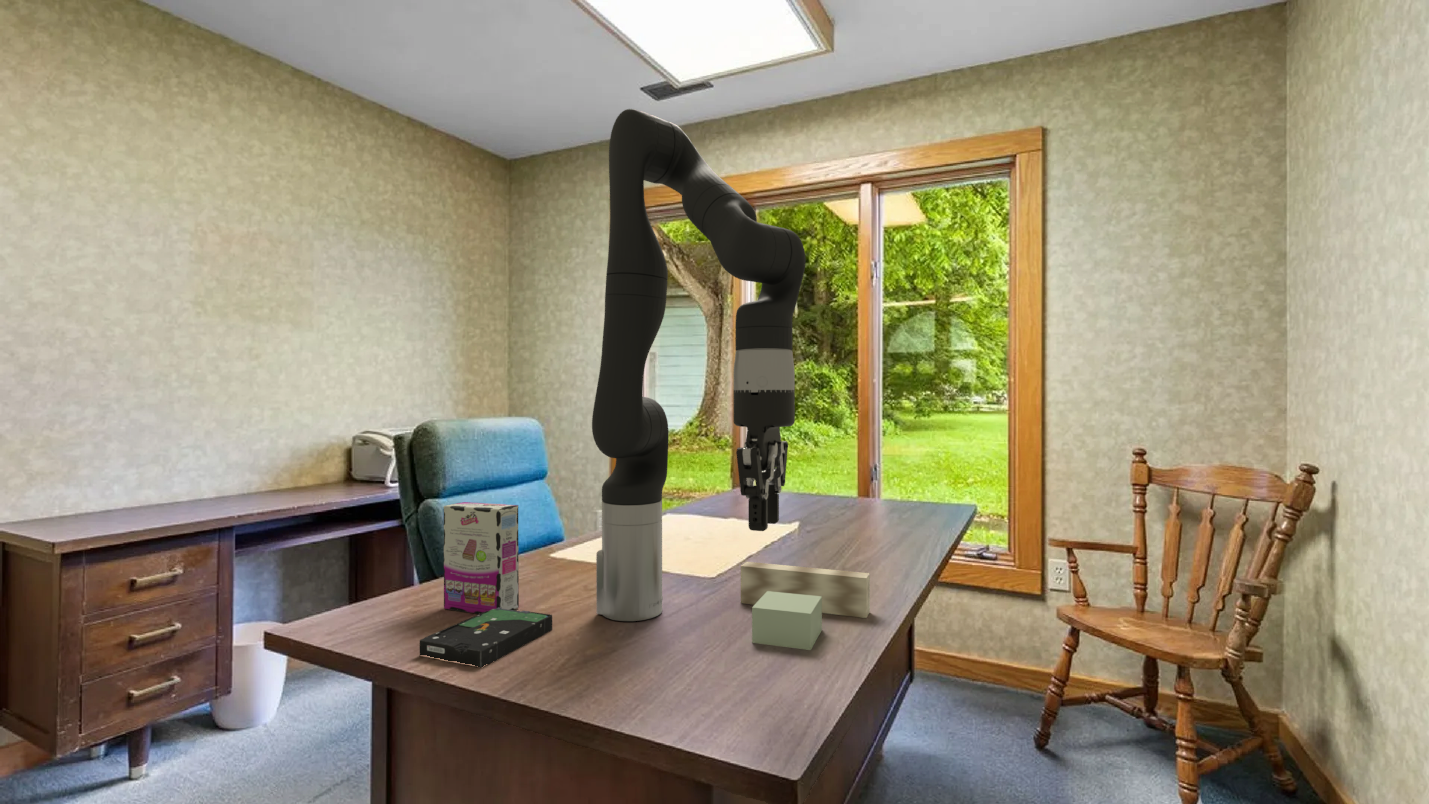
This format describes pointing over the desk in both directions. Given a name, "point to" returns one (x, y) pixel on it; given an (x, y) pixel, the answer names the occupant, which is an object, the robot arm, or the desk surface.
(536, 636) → the disk drive
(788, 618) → the sage block
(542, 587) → the desk surface
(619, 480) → the robot arm
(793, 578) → the stop board
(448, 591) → the candy bar box
